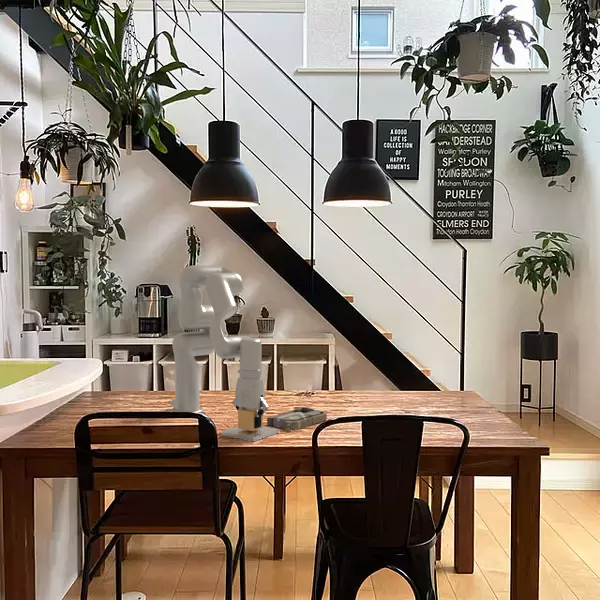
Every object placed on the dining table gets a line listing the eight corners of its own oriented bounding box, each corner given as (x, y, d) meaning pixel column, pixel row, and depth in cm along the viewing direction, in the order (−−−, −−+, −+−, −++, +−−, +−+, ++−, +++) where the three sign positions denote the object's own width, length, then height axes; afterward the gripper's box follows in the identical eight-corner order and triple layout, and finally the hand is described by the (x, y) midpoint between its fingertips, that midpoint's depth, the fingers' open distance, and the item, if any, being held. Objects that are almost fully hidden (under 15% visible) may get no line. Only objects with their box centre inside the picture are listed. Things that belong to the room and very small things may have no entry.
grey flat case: (260, 415, 243) (292, 422, 234) (301, 404, 262) (332, 410, 253) (260, 426, 243) (291, 432, 234) (301, 414, 262) (332, 420, 253)
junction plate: (221, 435, 228) (221, 418, 227) (247, 427, 239) (247, 410, 239) (253, 441, 220) (253, 423, 219) (278, 433, 231) (278, 416, 231)
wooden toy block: (238, 428, 228) (238, 409, 228) (249, 425, 233) (249, 406, 233) (251, 431, 225) (251, 412, 225) (262, 427, 230) (262, 409, 230)
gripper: (224, 373, 230) (224, 424, 231) (263, 378, 220) (263, 432, 221) (238, 370, 236) (238, 420, 237) (277, 375, 226) (276, 427, 227)
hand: (250, 425), depth 229 cm, fingers closed on wooden toy block, 5 cm apart
